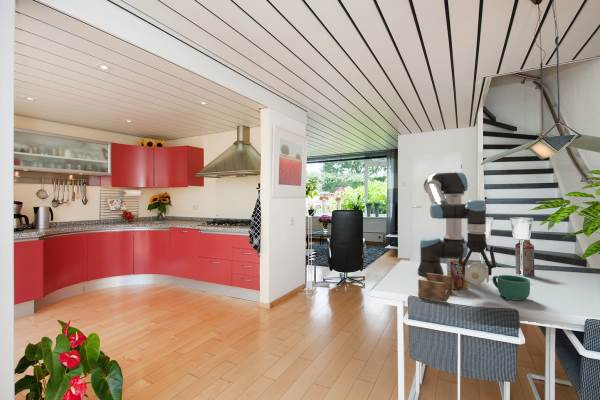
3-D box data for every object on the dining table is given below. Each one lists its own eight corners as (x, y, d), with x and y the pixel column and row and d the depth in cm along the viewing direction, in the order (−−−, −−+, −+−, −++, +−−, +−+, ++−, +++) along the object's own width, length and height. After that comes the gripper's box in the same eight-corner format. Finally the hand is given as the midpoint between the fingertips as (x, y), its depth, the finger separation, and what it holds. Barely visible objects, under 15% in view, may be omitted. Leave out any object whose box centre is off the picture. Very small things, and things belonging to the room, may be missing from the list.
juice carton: (534, 276, 180) (533, 240, 181) (523, 276, 180) (523, 240, 181) (526, 273, 187) (525, 239, 187) (515, 273, 187) (515, 239, 187)
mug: (537, 301, 135) (536, 280, 135) (514, 303, 133) (514, 282, 133) (505, 290, 152) (505, 272, 152) (484, 292, 149) (484, 273, 149)
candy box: (463, 287, 159) (462, 258, 159) (467, 289, 155) (467, 260, 155) (446, 287, 159) (446, 259, 159) (451, 289, 155) (450, 260, 155)
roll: (469, 276, 147) (469, 261, 146) (488, 279, 142) (487, 262, 142) (465, 283, 137) (464, 266, 137) (485, 285, 132) (485, 268, 132)
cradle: (418, 296, 144) (418, 279, 144) (427, 287, 159) (427, 272, 159) (444, 300, 137) (444, 283, 137) (452, 291, 151) (452, 275, 151)
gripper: (450, 232, 142) (451, 278, 142) (502, 235, 129) (502, 286, 130) (453, 230, 148) (454, 275, 148) (503, 233, 135) (503, 282, 136)
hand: (476, 280), depth 139 cm, fingers closed on roll, 8 cm apart
